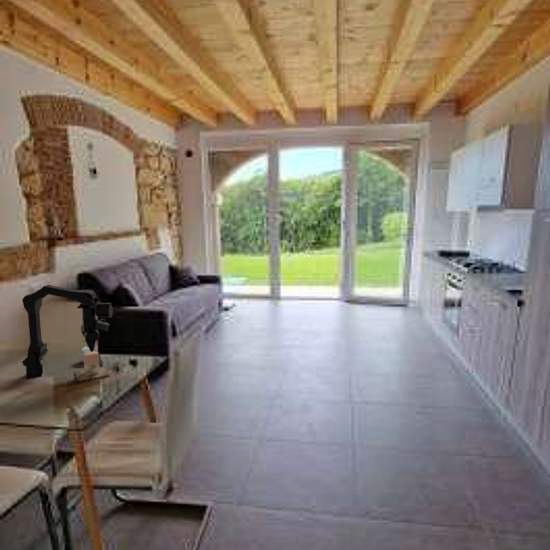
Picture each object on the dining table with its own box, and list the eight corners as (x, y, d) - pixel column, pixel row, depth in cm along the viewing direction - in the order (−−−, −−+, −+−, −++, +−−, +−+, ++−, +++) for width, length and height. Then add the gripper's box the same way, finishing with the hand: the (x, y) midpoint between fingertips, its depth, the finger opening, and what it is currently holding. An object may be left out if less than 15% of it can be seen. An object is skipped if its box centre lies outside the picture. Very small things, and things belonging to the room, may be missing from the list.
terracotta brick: (85, 365, 195) (84, 355, 194) (84, 362, 199) (83, 353, 198) (98, 363, 198) (98, 353, 198) (97, 360, 202) (97, 351, 201)
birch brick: (85, 375, 196) (85, 365, 195) (84, 372, 199) (84, 362, 199) (99, 373, 199) (98, 363, 198) (97, 370, 202) (97, 360, 202)
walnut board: (77, 381, 191) (77, 380, 190) (74, 373, 201) (74, 371, 201) (109, 376, 198) (109, 374, 198) (105, 368, 208) (105, 366, 208)
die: (78, 367, 210) (90, 353, 209) (70, 356, 213) (81, 341, 213) (91, 368, 217) (102, 354, 216) (83, 357, 221) (94, 343, 220)
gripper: (110, 319, 191) (112, 352, 193) (104, 311, 207) (105, 341, 209) (84, 322, 185) (86, 355, 188) (79, 313, 201) (81, 344, 204)
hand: (90, 348), depth 197 cm, fingers open, 9 cm apart
